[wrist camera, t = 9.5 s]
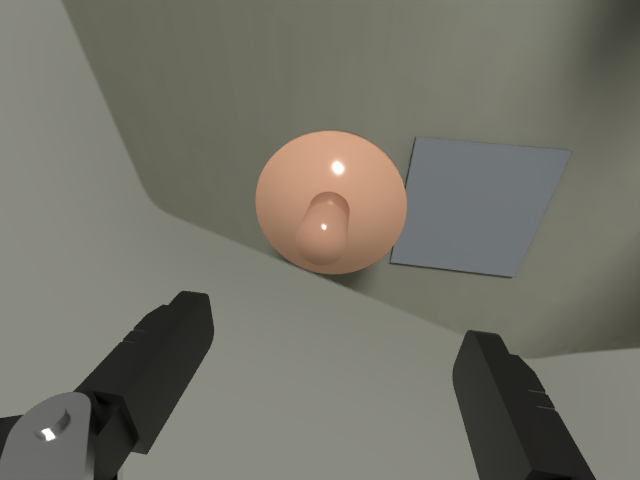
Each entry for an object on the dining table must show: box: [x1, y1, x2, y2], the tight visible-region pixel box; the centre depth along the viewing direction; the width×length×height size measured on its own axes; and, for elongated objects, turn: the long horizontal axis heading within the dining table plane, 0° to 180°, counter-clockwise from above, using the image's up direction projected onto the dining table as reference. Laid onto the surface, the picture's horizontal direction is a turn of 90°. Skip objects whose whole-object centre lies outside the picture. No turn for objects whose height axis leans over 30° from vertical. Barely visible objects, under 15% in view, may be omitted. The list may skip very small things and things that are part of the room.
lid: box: [256, 130, 407, 274], centre depth 20 cm, size 11×11×6 cm
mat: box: [390, 137, 572, 277], centre depth 32 cm, size 14×14×1 cm
